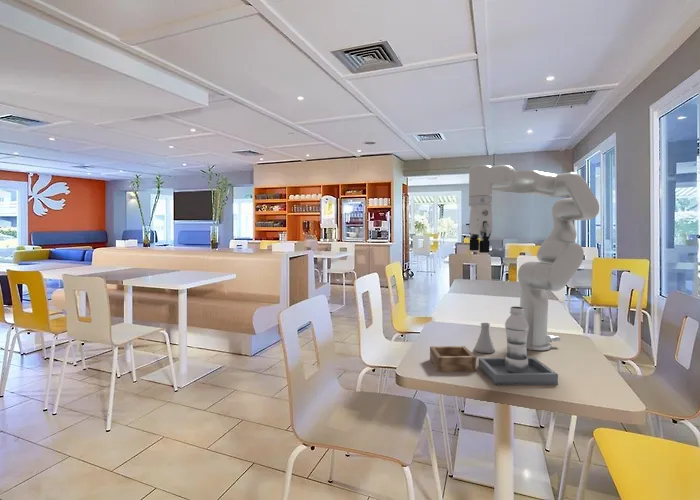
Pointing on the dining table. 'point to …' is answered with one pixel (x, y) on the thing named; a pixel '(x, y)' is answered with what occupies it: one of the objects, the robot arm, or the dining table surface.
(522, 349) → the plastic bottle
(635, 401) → the dining table surface
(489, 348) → the flask
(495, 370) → the parts tray
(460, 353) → the holder
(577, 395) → the dining table surface
